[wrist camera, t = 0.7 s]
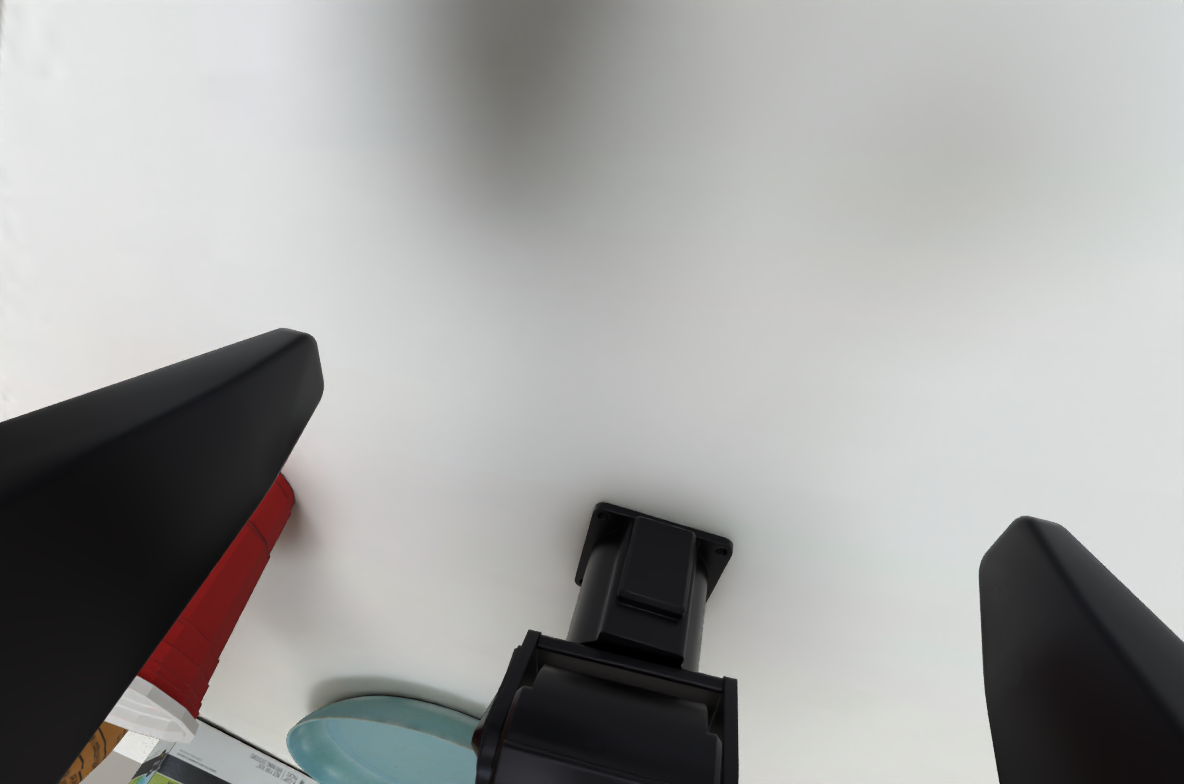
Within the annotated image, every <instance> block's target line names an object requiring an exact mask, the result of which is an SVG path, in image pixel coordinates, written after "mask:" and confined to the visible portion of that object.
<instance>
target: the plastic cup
mask: <svg viewBox="0 0 1184 784" xmlns="http://www.w3.org/2000/svg"><path fill="white" fill-rule="evenodd" d="M294 503H295V502H294V496H293V491H292V489H291V487H290V486H289V484H288V483H287V481H286V480H285V478H284V477H283V475H282V474H280V473H279V475H278V477H277V478H276V480H275V482H274V483H273V485H272V487H271V488H270V490H269V491H268V493H267V494H266V496H265V497H264V499H263V500H262V502H261V503H260V505H259V506H258V508H257V509H256V510H255V512H254V513H253V515H252V516H251V517H250V519H249V520H248V521H247V523H246V524H245V526H244V527H243V528H242V530H241V531H240V533H239V534H238V535H237V537H236V538H235V540H234V541H233V542H232V544H231V545H230V547H229V548H228V549H227V551H226V552H225V553H224V555H223V556H222V558H221V559H220V560H219V562H218V563H217V565H216V566H215V567H214V569H213V570H212V572H211V573H210V574H209V576H208V577H207V579H206V580H205V581H204V583H203V584H202V585H201V587H200V588H199V590H198V591H197V592H196V594H195V595H194V597H193V598H192V599H191V601H190V602H189V604H188V605H187V606H186V608H185V609H184V610H183V612H182V613H181V615H180V616H179V617H178V619H177V620H176V622H175V623H174V624H173V626H172V627H171V629H170V630H169V631H168V633H167V634H166V636H165V637H164V638H163V640H162V641H161V642H160V644H159V645H158V647H157V648H156V649H155V651H154V652H153V654H152V655H151V656H150V658H149V659H148V661H147V662H146V663H145V665H144V666H143V668H142V669H141V670H140V672H139V673H138V674H137V676H136V677H135V679H134V680H133V681H132V683H131V684H130V686H129V687H128V688H127V690H126V691H125V693H124V694H123V695H122V697H121V698H120V700H119V701H118V702H117V704H116V705H115V706H114V708H113V709H112V711H111V712H110V713H109V715H108V716H107V718H106V719H105V720H104V721H105V722H108V723H111V724H114V725H116V726H119V727H122V728H124V729H127V730H130V731H133V732H135V733H139V734H142V735H146V736H150V737H153V738H157V739H161V740H164V741H168V742H180V743H190V742H191V741H192V740H193V738H194V737H195V735H196V732H197V729H198V727H199V724H198V723H197V721H196V718H197V717H198V715H199V709H200V707H201V705H202V704H201V701H202V699H203V697H204V695H205V693H206V691H207V689H208V687H209V685H208V682H209V680H210V679H211V677H212V675H213V673H214V671H215V669H216V667H217V665H218V663H219V659H218V658H219V656H220V654H221V652H222V651H223V649H224V647H225V645H226V643H227V641H228V639H229V637H230V635H231V633H232V631H233V629H234V627H235V625H236V623H237V621H238V619H239V617H240V615H241V613H242V611H243V610H244V608H245V606H246V604H247V602H248V600H249V598H250V596H251V594H252V592H253V590H254V588H255V586H256V584H257V582H258V580H259V578H260V576H261V574H262V572H263V570H264V568H265V567H266V565H267V563H268V561H269V559H270V552H271V551H272V549H273V547H274V545H275V543H276V541H277V539H278V537H279V536H280V534H281V532H282V530H283V528H284V526H285V524H286V522H287V520H288V519H289V517H290V515H291V509H292V507H293V505H294Z"/></svg>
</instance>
